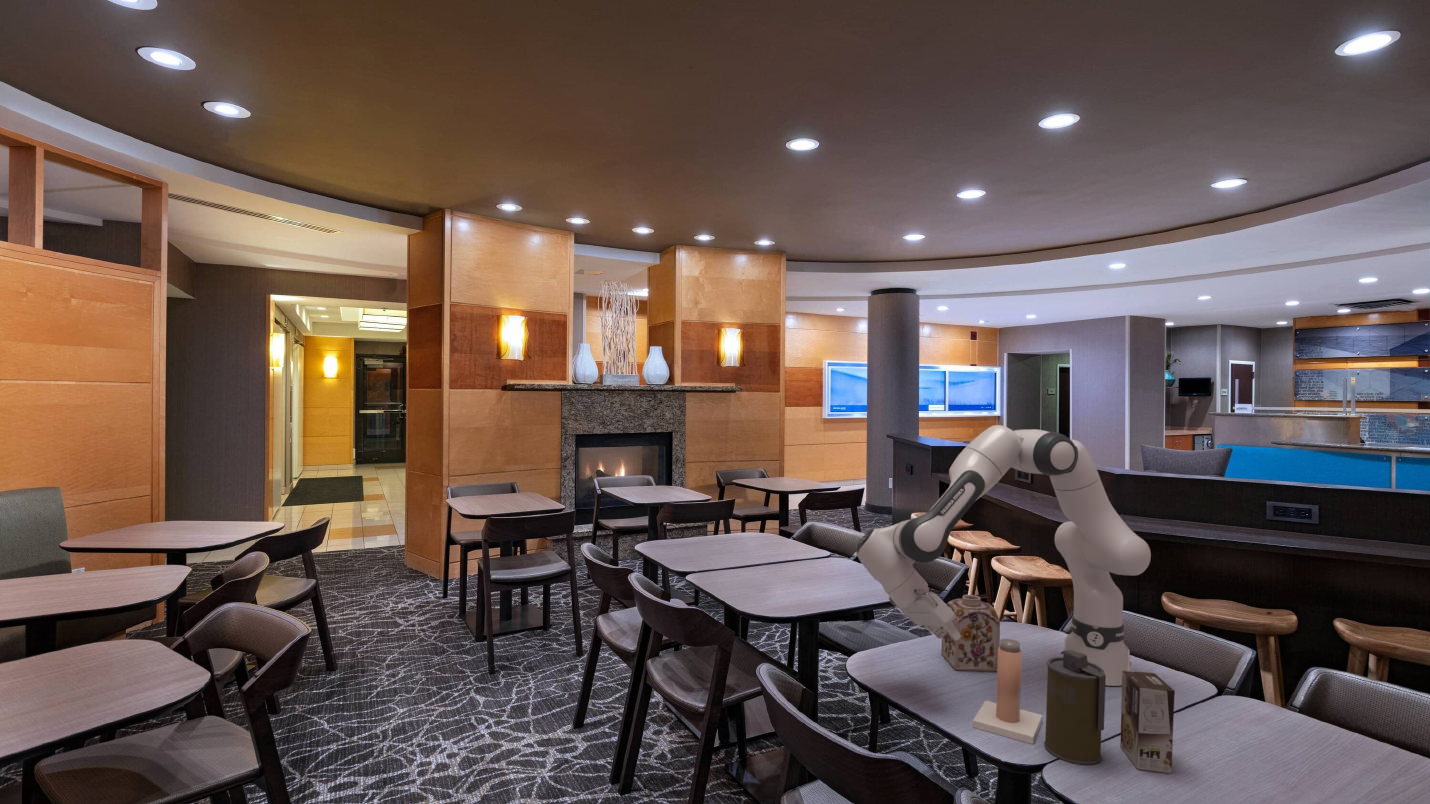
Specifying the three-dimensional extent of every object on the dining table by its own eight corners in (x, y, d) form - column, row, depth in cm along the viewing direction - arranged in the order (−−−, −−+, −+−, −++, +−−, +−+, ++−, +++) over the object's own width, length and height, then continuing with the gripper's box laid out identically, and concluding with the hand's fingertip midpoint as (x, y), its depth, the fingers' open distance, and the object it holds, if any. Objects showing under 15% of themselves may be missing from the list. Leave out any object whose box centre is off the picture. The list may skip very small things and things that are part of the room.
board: (985, 706, 158) (985, 700, 158) (1042, 721, 152) (1042, 714, 152) (972, 727, 148) (972, 720, 148) (1032, 744, 142) (1033, 736, 142)
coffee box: (1173, 774, 132) (1176, 691, 131) (1136, 769, 133) (1139, 687, 133) (1153, 750, 141) (1155, 672, 140) (1118, 746, 142) (1121, 668, 142)
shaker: (998, 710, 153) (1000, 636, 153) (1021, 716, 151) (1023, 641, 151) (993, 718, 149) (996, 642, 149) (1017, 724, 147) (1019, 647, 147)
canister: (1033, 745, 141) (1036, 649, 141) (1064, 733, 146) (1067, 641, 146) (1083, 771, 132) (1087, 668, 132) (1115, 758, 137) (1118, 659, 137)
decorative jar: (999, 672, 178) (1001, 604, 178) (954, 671, 179) (957, 602, 178) (982, 655, 190) (984, 590, 190) (940, 653, 191) (942, 589, 190)
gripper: (934, 580, 153) (978, 629, 151) (904, 583, 173) (942, 627, 170) (914, 598, 152) (958, 649, 149) (886, 599, 171) (925, 644, 169)
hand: (949, 637), depth 160 cm, fingers open, 8 cm apart
